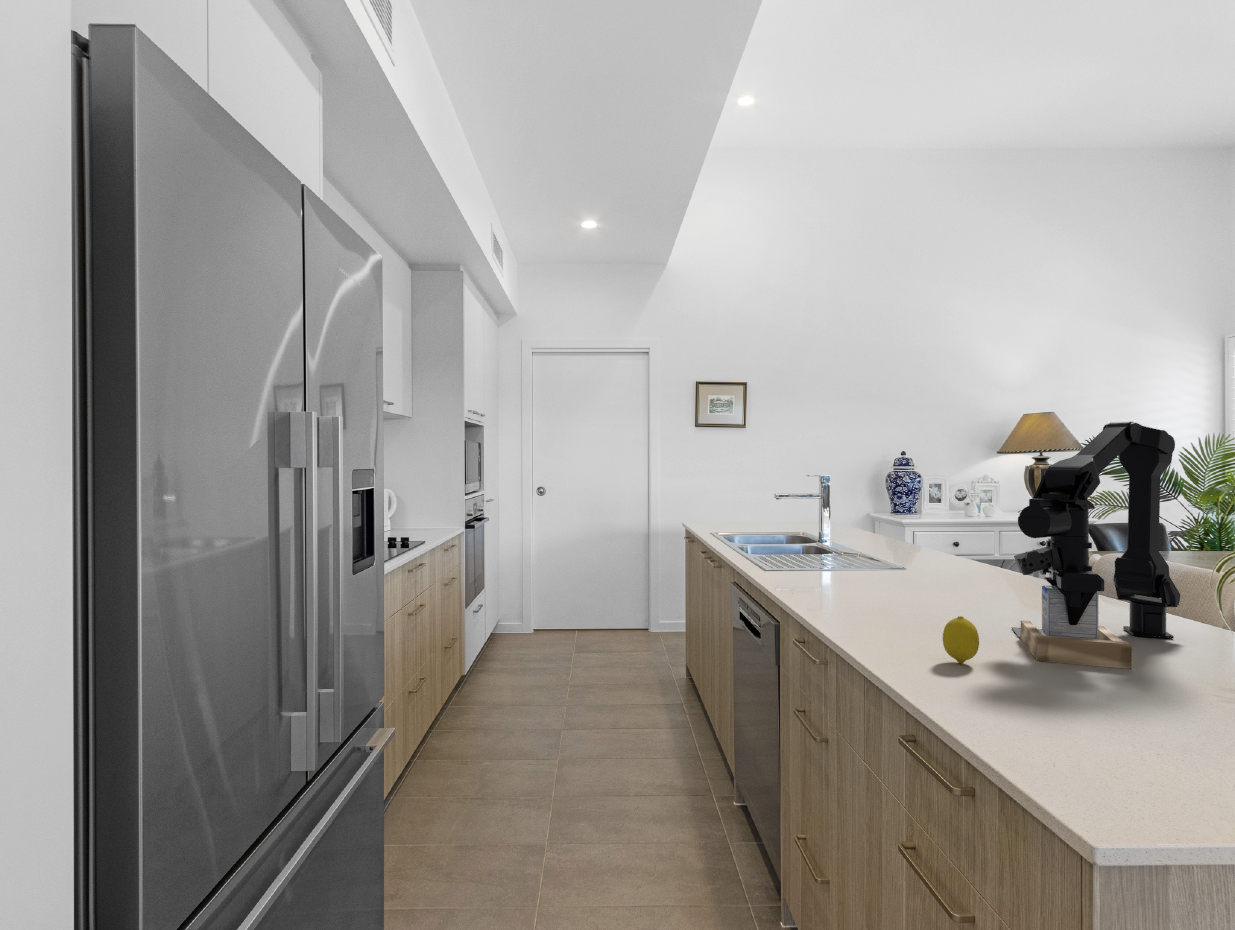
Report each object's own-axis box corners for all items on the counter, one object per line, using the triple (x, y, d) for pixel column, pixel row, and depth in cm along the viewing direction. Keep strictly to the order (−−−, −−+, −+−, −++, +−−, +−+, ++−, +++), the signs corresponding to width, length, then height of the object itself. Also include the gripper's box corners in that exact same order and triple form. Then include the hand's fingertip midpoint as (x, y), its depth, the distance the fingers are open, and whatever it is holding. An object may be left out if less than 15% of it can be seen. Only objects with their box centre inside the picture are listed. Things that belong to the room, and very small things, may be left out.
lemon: (983, 669, 113) (983, 620, 113) (947, 667, 115) (947, 619, 114) (973, 659, 119) (973, 613, 119) (938, 658, 120) (938, 611, 120)
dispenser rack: (1020, 638, 133) (1020, 617, 133) (1103, 644, 128) (1103, 623, 128) (1037, 660, 118) (1037, 637, 118) (1131, 668, 113) (1131, 644, 113)
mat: (1011, 628, 140) (1011, 627, 140) (1081, 633, 136) (1081, 632, 136) (1018, 638, 133) (1018, 636, 133) (1092, 643, 129) (1092, 642, 129)
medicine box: (1091, 635, 125) (1091, 587, 125) (1099, 641, 121) (1099, 591, 121) (1041, 631, 128) (1041, 584, 128) (1047, 637, 123) (1047, 588, 123)
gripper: (1009, 528, 136) (1009, 608, 136) (1027, 539, 118) (1028, 630, 118) (1076, 530, 132) (1076, 612, 132) (1105, 541, 114) (1105, 636, 114)
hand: (1069, 621), depth 124 cm, fingers closed on medicine box, 4 cm apart
